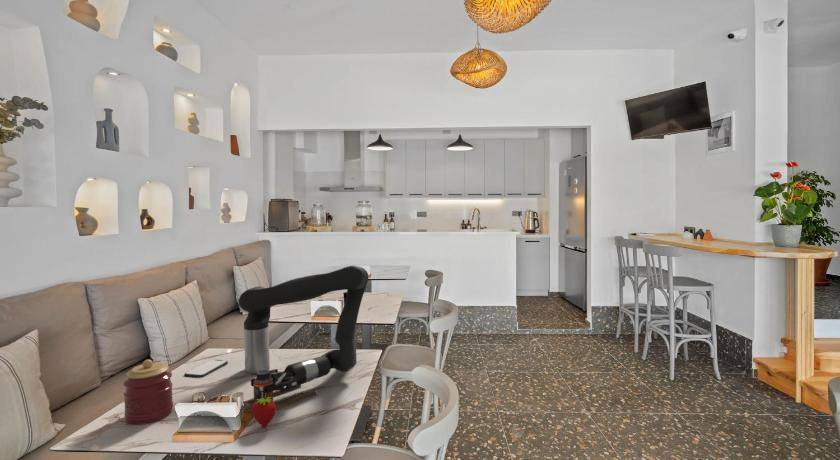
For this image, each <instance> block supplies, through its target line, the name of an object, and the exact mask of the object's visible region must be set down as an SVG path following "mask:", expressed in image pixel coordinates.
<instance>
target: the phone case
mask: <svg viewBox="0 0 840 460" xmlns="http://www.w3.org/2000/svg"><path fill="white" fill-rule="evenodd" d="M226 365H229V362H228V360H225V359H224V360H223V359H209V360H207V361H206V362H204V363H201V364H200V365H197V366H195V367H194V368H192V369H191V370H188V371H185V372H184V377H189V378H205V377H206V376H208V375H210V374H212V373H214V372H215V371H217V370H219V369H221V368H223V367H224V366H226Z"/></svg>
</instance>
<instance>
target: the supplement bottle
mask: <svg viewBox="0 0 840 460" xmlns="http://www.w3.org/2000/svg"><path fill="white" fill-rule="evenodd" d="M269 371H270V370H269V369H268V370H261V371H258V372H257V373H256V379H255V378H254V379H255V380H254V386H253V398H254V403H255V402H257V400H256V399H261V398H264V399H265V400H266V398H268V397H271V398H270V399H272V400H273V401H274V396H273V392H274V391H272V392H269V393H266V394H264V393H263V387H264V386H267V385H270V384H273V378H272V377H270V372H269ZM265 395H266V397H265ZM254 403H253V404H254Z"/></svg>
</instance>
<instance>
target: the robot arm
mask: <svg viewBox="0 0 840 460" xmlns="http://www.w3.org/2000/svg"><path fill="white" fill-rule="evenodd" d="M368 281H369V274H368V271H367V270H366V269H365V268H363V267H361V266H359V265H349V266H344V267H343V268H339V269H337V270H334V271H329V272H327V273H326V272H325V273H319V274H318V273H317V274H312V275H305V276H301V277H298V278H297V277H296V278H293V279H290V280H287V281H284V282H281V283H279V284H276V285H273V286H271V287H270V286H269V287H264V286H255V287H251V288H248V289H247V290H245V291H244V292H242V293H241V294H240V296H239V298H238V306H239V307H240V309H242V310H243V311H244V312H246V313H247V316H246V318H245V319H244V322H243V337H244V339H243V341H244V342H243V343H244V348H243V349H244V370H245V371H244V372H245V373H247V374H257V372H258V371H261V370H269V369H270V334H269V333H270V331H269V329H270V328H269V323H270V320H271V319H270V318H271V307H274V306H279V305H287V304H293V303H295V304H296V303H300V302H306V301H309V300H314V299H316V298H319V297H321V296H323V295H326V294H328V293H331V292H336V291H343V290H346V292H347V297H346V301H345V305H344V304H343V307H342V310H341V313H340V315H339V317H338V318H339V319H338V321H337V324H336V325H337V326H336V331H335V335H334V336H335V337H334V341H335V343H336V344H338V346H339V347H338V348H339V349H338V348H337V349H332V350H329V351H327V352H325V353H324V354H322V355H320V356H318V357H313V358H311V359H305V360H301V361H298V362H295V363H291V364H288V365H286V367H285V369H284V370H283V371H278V369H273V370H272V369H271V370H269V372H270V377H272V379H273V384H270V385H267V386H264V387H263V393H264V394H266V393H269V392H272V391H273V392H274V391H279V390H280V392H283V391H286V390H289V389H292V388H294V387H297V386H298V385H301V386H302V385H304V384H307V383H309V382H312V381H314V380H316V379H320V378H322V377H325V376H327V375H328V374H329V373H330V372H331V370H332V369H335V370H337V371H339V372H343V373H346V372H349V370H351V368H352V367H353V366H354V365H353V362H354V344H353V339H354V334H355V328H356V329H357V322H358V318H359V317H358V316H359V312H360V308H361V304H362V301H363V297H364V294H365V291H366V288H367V285H368ZM352 365H353V366H352ZM256 378H257V377H256ZM256 378H252V379H251V380H250V386H251V387H254V380H255V379H256Z"/></svg>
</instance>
